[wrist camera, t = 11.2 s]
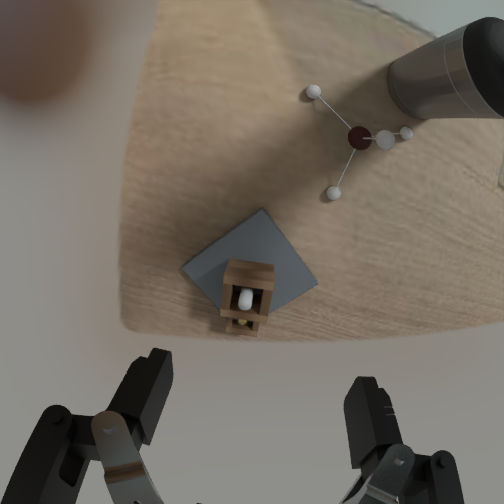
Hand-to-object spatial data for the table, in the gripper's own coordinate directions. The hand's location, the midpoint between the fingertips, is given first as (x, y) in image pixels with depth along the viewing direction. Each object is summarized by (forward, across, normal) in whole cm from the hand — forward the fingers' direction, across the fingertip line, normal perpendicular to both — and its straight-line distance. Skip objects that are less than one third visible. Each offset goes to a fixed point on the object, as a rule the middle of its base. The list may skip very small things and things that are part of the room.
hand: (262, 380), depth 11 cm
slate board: (+27, +2, +10) cm, 29 cm away
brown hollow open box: (+26, +2, +13) cm, 29 cm away
